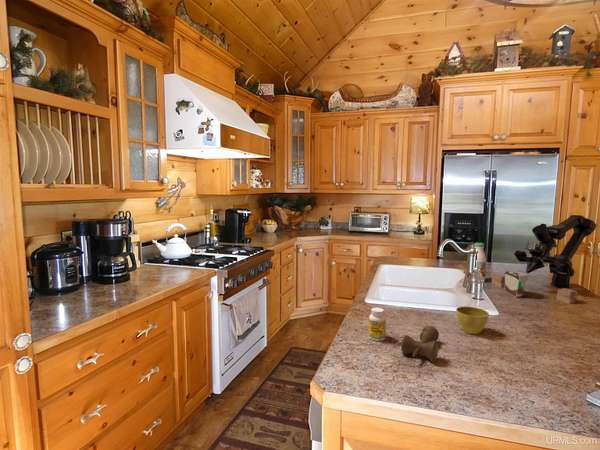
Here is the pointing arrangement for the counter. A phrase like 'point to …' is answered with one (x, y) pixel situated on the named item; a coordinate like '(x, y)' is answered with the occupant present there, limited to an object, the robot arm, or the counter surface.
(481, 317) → the olive yellow bowl
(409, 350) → the kendama
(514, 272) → the food container
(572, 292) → the walnut cube seven
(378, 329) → the supplement bottle
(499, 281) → the walnut cube one
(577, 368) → the counter surface
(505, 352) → the counter surface
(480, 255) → the milk bottle
